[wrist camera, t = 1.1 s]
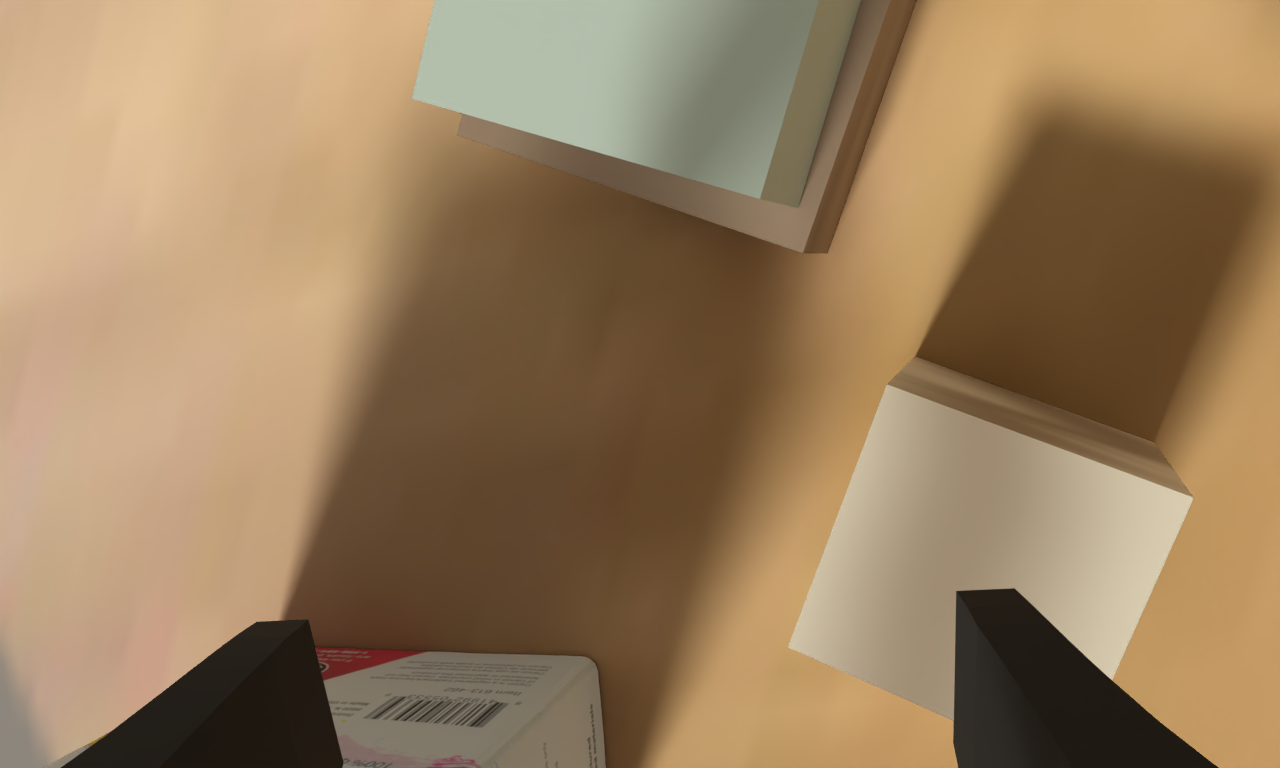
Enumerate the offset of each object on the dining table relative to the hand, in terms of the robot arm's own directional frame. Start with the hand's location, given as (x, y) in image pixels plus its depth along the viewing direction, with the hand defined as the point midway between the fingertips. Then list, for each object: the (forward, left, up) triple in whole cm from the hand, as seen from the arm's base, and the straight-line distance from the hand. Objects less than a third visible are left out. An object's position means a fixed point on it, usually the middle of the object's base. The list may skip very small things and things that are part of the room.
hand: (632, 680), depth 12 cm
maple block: (-3, -1, -11) cm, 11 cm away
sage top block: (+5, -8, -8) cm, 12 cm away
